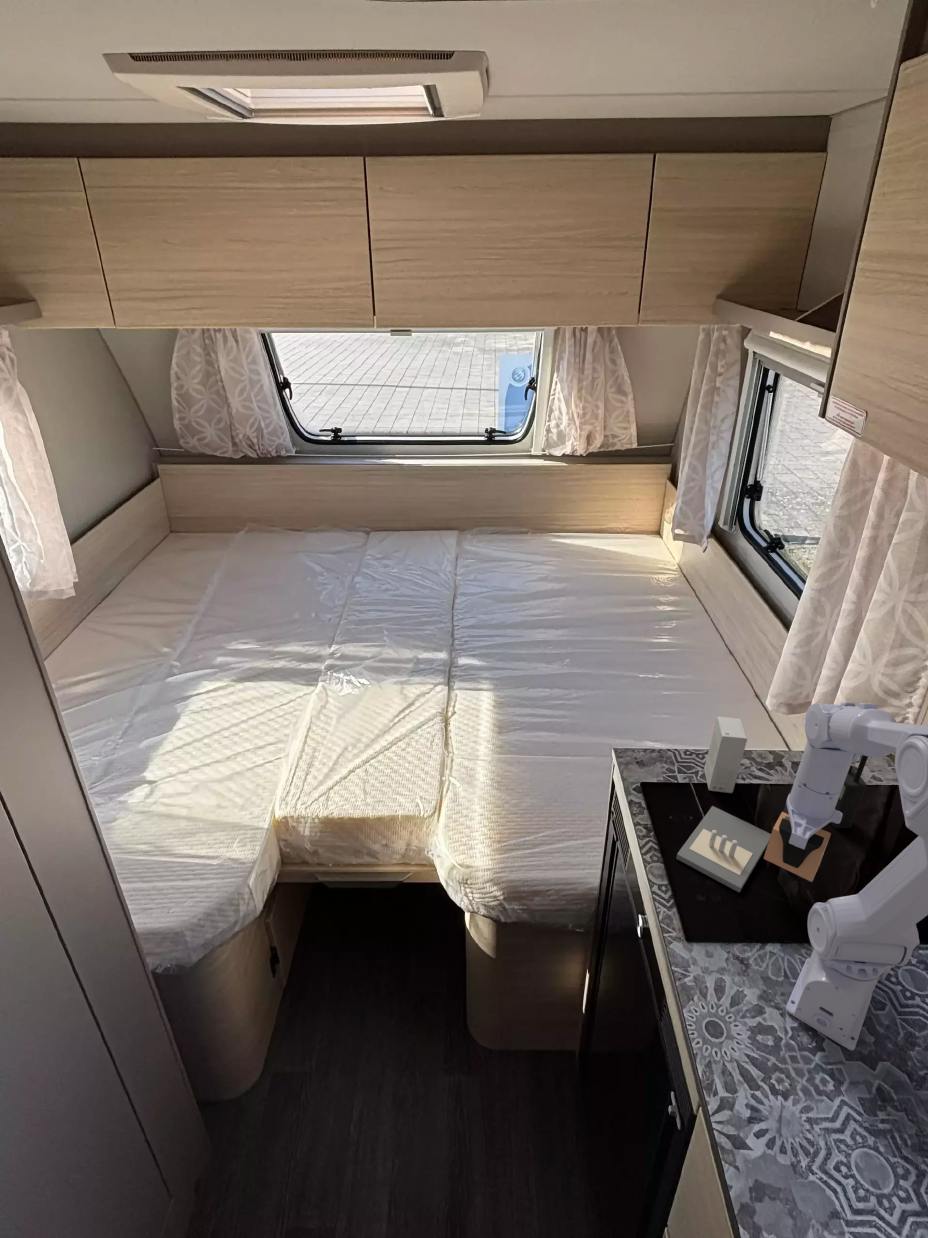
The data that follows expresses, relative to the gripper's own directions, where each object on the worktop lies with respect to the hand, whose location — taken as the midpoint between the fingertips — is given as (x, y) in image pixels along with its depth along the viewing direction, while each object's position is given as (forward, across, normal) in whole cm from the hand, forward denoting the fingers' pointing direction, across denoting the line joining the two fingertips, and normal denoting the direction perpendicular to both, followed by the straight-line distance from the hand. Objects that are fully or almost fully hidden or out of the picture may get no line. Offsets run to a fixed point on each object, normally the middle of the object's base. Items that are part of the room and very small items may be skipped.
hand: (794, 852), depth 102 cm
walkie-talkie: (+7, +20, -4) cm, 21 cm away
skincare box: (+7, +18, +15) cm, 24 cm away
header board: (+7, +2, +9) cm, 12 cm away
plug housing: (+2, 0, 0) cm, 2 cm away
